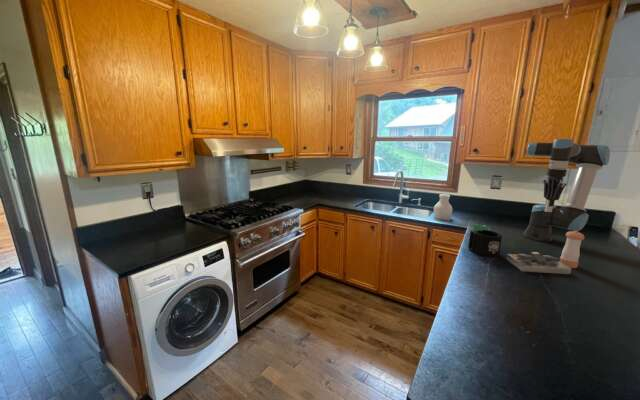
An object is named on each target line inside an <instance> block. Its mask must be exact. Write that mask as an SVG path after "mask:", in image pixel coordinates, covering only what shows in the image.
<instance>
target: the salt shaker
mask: <svg viewBox="0 0 640 400" xmlns="http://www.w3.org/2000/svg"><path fill="white" fill-rule="evenodd" d="M565 237H566V241H565V244H564V246H563V249H562V251H561V256H559V258H560V261H559V262H561V263H563V264H564V265H566V266H568V267H569V268H571V269H577V268H578V266H579V258H580V256H581V255H580V248H581V245H582V241H584V240H585V235H584V234H583V233H581V232H579V231H574V230H569V231H567V232H566V233H565Z"/></svg>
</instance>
